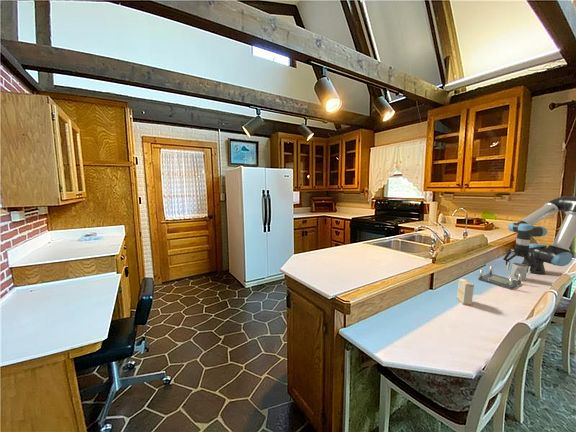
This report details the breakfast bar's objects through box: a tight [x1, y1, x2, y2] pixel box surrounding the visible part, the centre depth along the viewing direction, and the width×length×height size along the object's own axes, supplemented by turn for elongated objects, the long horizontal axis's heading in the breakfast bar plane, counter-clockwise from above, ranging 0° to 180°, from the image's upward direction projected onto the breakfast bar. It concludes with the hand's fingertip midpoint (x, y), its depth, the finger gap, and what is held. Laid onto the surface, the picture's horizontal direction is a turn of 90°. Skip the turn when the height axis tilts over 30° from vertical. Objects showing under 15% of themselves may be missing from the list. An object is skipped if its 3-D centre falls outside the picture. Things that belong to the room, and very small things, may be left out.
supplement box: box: [456, 278, 475, 306], centre depth 148 cm, size 8×5×13 cm, turn 168°
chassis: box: [477, 265, 522, 290], centre depth 179 cm, size 19×19×8 cm
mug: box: [510, 262, 528, 282], centre depth 184 cm, size 12×8×11 cm
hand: (517, 272), depth 184 cm, fingers open, 11 cm apart
